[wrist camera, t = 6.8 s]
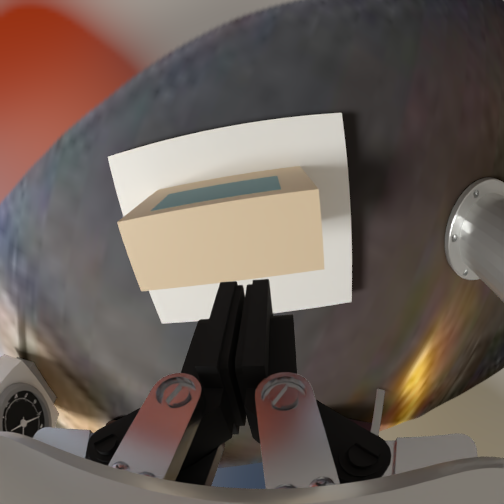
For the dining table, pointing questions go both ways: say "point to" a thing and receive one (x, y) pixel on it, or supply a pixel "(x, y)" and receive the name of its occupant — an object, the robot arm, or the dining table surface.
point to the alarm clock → (24, 398)
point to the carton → (226, 230)
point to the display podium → (246, 161)
